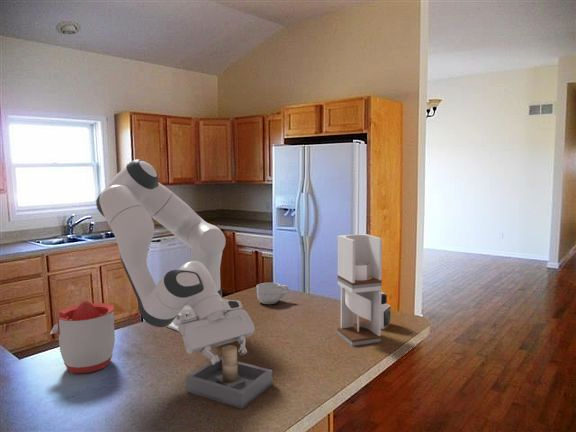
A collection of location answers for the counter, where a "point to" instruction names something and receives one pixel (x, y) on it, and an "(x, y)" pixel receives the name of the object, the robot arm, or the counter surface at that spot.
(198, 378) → the tray
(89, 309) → the citrus juicer
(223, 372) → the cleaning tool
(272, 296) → the teacup
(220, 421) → the counter surface
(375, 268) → the white miniature tower model
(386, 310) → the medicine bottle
